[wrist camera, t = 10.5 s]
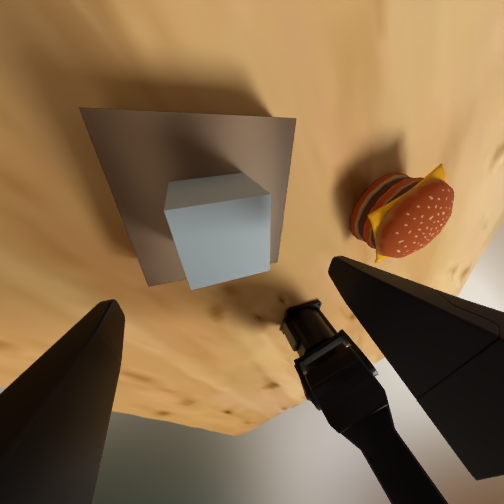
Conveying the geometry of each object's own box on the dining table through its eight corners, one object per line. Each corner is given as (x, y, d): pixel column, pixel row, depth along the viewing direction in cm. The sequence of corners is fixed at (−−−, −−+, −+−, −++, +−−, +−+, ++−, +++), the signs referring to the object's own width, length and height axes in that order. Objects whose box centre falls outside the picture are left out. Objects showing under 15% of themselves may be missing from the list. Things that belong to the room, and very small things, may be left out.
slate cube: (243, 172, 13) (271, 194, 9) (247, 234, 16) (269, 270, 12) (168, 181, 12) (163, 210, 8) (187, 246, 15) (190, 290, 11)
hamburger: (355, 251, 28) (395, 279, 23) (340, 203, 22) (390, 227, 17) (410, 212, 27) (465, 233, 22) (409, 151, 21) (484, 160, 16)
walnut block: (272, 119, 16) (296, 118, 12) (263, 242, 22) (277, 262, 19) (103, 111, 12) (78, 107, 9) (153, 259, 19) (148, 286, 16)
